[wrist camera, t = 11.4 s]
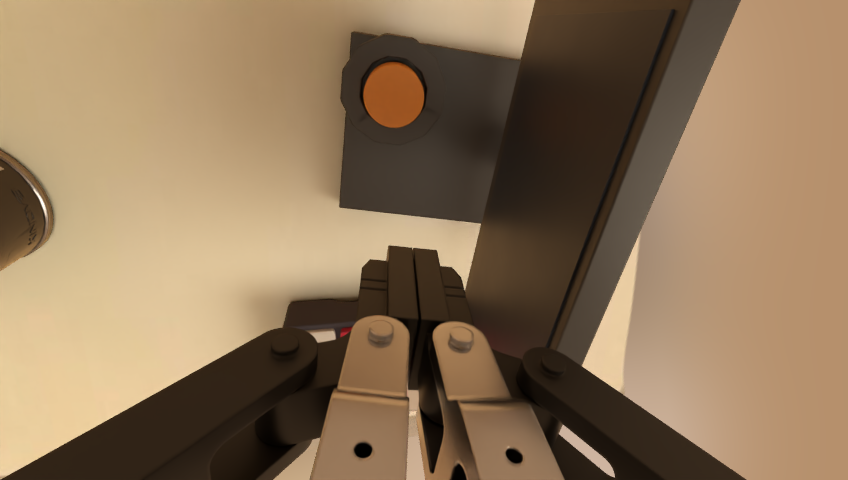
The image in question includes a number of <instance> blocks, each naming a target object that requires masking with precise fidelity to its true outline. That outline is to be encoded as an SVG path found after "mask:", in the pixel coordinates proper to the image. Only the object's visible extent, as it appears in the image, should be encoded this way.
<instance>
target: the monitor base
mask: <svg viewBox="0 0 848 480" xmlns="http://www.w3.org/2000/svg"><path fill="white" fill-rule="evenodd" d="M386 62H399V63H402V64H405V65H407V66H408V67H410V68H411V69H412V70H413V71H414V72H415V73H416V75H417V76H418V78H419V80H420V82H421V84H422V86H423V90H424V103H423V107H422V110H421V112H420V114H419V115H418V117H417V118H416V119H415V120H414V121H413V122H411V123H410V124H408V125H406V126H403V127H399V128H390V127H386V126H383V125H381V124H379V123H378V122H376V121H375V120H374V119H373V118H372V117H371V116H370V114H369V113H368V111H367V109H366V107H365V104H364V97H363V95H364V87H365V84H366V81H367V79H368V77H369V75H370V73H371V72H372V71H373V70H374V69H375V68H376V67H378V66H379V65H381V64H383V63H386ZM520 62H521V60H518V59H512V58H506V57H500V56H495V55H489V54H483V53H477V52H471V51H465V50H459V49H454V48H448V47H442V46H436V45H430V44H424V43H419V42H418V41H417V40H416V39H414V38H412V37H406V36H400V35H394V34H388V33H386V34H383V35H380V36H378V35H372V34H366V33H360V32H352V33H351V46H350V59H349V61H348V62H347V64H346V65H345V67H344V68H343V71H342V84H341V102H342V104H343V106H344V108H345V110H346V118H345V132H344V147H343V161H342V175H341V190H340V204H339V207H340V208H349V209H358V210H367V211H375V212H384V213H393V214H402V215H411V216H420V217H429V218H438V219H447V220H455V221H464V222H473V223H482V219H483V215H484V211H485V207H486V203H487V198H488V194H489V190H490V186H491V182H492V178H493V174H494V169H495V165H496V161H497V157H498V153H499V149H500V145H501V140H502V136H503V132H504V128H505V124H506V120H507V115H508V111H509V107H510V103H511V99H512V95H513V91H514V86H515V82H516V78H517V74H518V70H519V66H520Z"/></svg>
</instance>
